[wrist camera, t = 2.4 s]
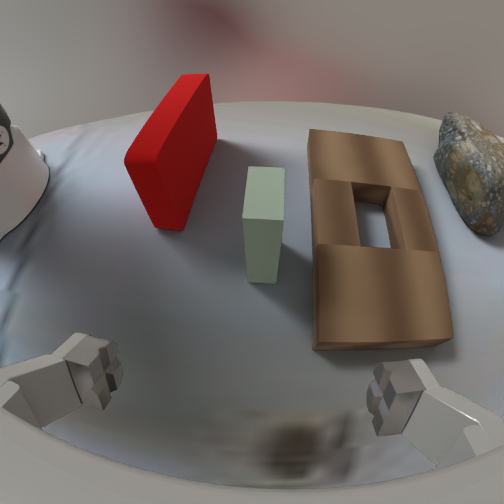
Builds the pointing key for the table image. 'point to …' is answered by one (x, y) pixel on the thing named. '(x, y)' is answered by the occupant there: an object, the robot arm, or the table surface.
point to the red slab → (174, 151)
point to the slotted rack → (372, 249)
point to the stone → (472, 171)
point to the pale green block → (263, 222)
